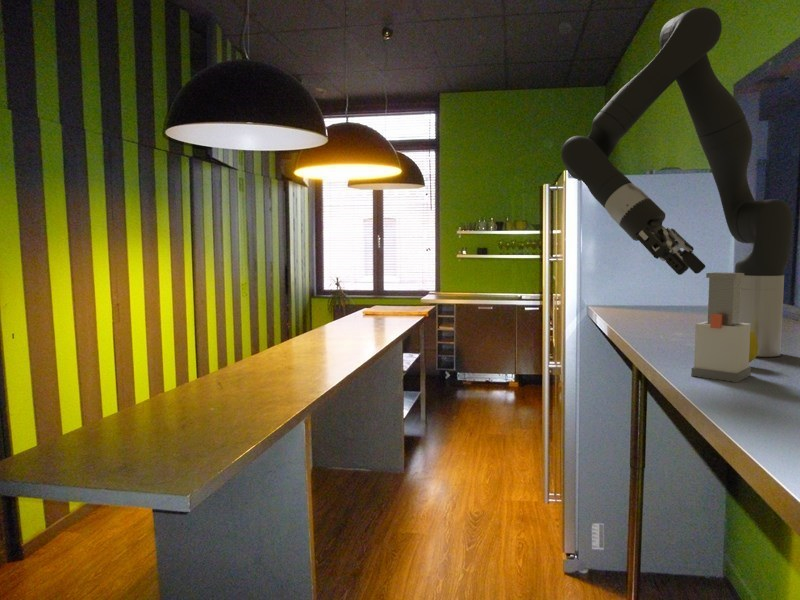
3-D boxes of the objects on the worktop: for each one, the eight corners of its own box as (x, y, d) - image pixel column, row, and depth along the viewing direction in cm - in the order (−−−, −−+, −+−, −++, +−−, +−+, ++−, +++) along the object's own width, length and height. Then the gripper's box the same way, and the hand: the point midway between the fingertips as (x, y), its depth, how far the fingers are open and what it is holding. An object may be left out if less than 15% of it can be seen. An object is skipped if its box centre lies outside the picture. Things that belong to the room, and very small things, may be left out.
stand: (706, 369, 114) (708, 309, 113) (750, 375, 109) (753, 312, 108) (690, 376, 108) (693, 313, 107) (736, 382, 103) (739, 316, 102)
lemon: (755, 370, 113) (757, 328, 113) (722, 367, 117) (724, 326, 116) (759, 366, 118) (761, 325, 117) (727, 362, 121) (729, 323, 120)
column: (711, 362, 112) (715, 272, 111) (740, 365, 109) (744, 273, 107) (702, 366, 109) (706, 273, 107) (731, 369, 105) (736, 273, 104)
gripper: (632, 194, 111) (695, 257, 104) (662, 199, 121) (722, 256, 114) (604, 224, 115) (663, 286, 108) (635, 226, 125) (691, 283, 118)
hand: (693, 271), depth 111 cm, fingers open, 8 cm apart
